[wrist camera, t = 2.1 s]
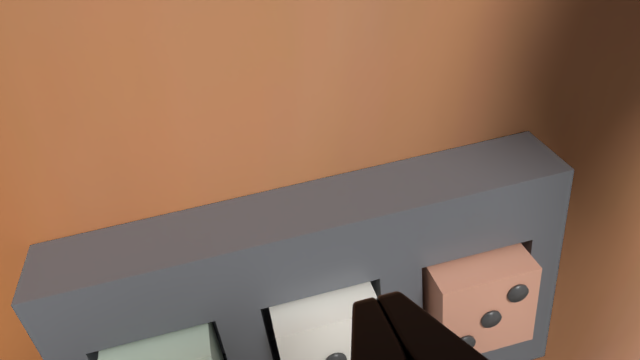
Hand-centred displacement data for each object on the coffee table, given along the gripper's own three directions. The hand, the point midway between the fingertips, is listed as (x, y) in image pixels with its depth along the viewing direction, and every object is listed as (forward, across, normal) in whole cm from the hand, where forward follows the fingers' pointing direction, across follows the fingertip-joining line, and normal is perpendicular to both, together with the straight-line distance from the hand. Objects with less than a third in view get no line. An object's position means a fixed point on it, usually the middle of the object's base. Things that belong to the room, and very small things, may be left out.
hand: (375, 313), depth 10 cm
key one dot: (+9, 0, +9) cm, 13 cm away
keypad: (+11, 0, +9) cm, 14 cm away
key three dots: (+9, -6, +9) cm, 14 cm away
